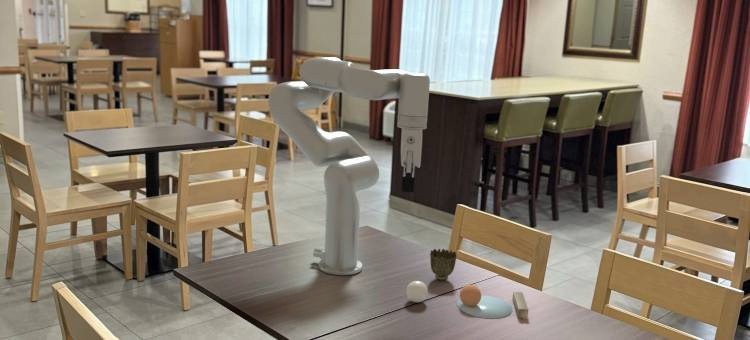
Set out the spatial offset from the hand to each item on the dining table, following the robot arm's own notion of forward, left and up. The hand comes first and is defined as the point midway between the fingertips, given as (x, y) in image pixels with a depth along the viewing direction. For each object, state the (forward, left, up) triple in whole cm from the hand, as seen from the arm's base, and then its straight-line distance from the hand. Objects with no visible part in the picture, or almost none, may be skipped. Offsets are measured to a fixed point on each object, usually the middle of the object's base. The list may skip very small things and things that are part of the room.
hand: (407, 191), depth 180 cm
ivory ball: (+7, -6, -24) cm, 26 cm away
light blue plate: (+23, +1, -27) cm, 36 cm away
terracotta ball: (+20, -1, -24) cm, 31 cm away
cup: (+7, +12, -27) cm, 31 cm away
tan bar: (+31, +4, -27) cm, 42 cm away
